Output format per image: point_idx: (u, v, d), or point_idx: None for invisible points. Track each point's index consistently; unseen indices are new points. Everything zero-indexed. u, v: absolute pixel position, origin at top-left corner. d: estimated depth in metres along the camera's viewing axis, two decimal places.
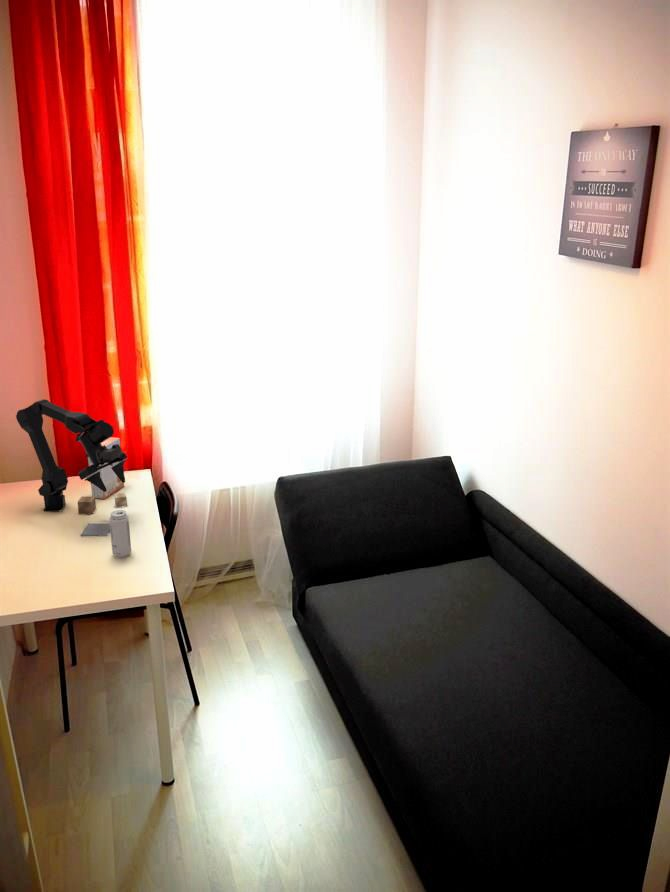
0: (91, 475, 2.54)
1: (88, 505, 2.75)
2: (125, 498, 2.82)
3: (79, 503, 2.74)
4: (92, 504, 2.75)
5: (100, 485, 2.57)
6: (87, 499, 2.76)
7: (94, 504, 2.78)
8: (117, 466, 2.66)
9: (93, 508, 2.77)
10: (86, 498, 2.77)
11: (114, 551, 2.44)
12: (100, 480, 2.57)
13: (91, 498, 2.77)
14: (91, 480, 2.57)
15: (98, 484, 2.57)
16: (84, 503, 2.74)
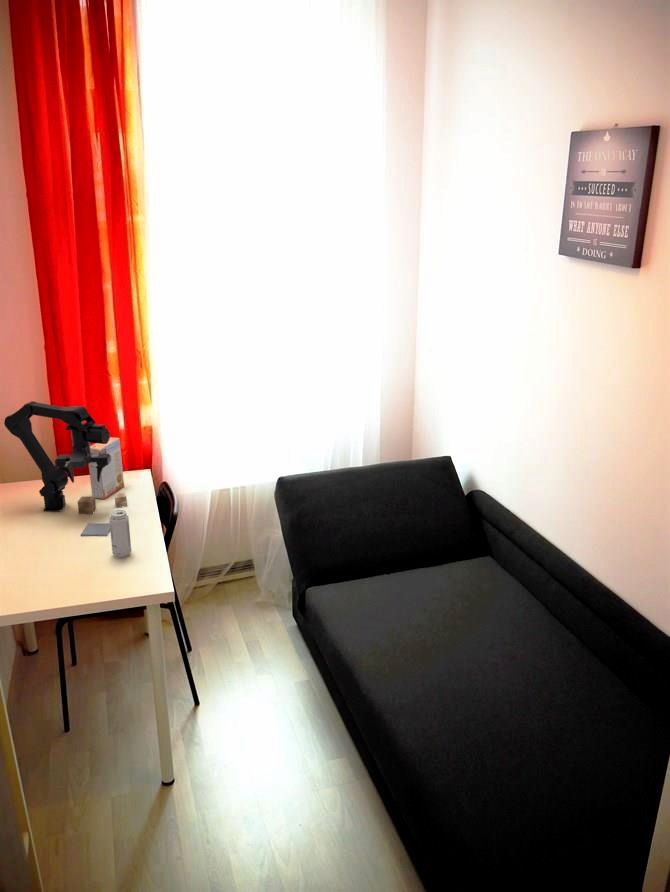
0: None
1: (88, 505, 2.75)
2: (125, 498, 2.82)
3: (79, 503, 2.74)
4: (92, 504, 2.75)
5: None
6: (87, 499, 2.76)
7: (94, 504, 2.78)
8: None
9: (93, 508, 2.77)
10: (86, 498, 2.77)
11: (114, 551, 2.44)
12: (68, 472, 2.71)
13: (91, 498, 2.77)
14: None
15: None
16: (84, 503, 2.74)
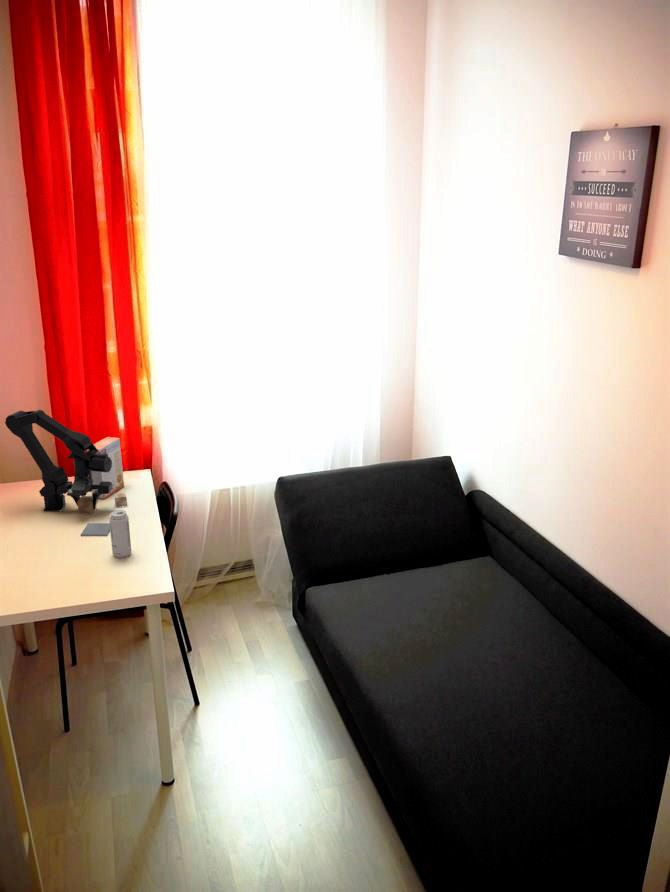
0: None
1: (88, 505, 2.75)
2: (125, 498, 2.82)
3: (79, 503, 2.74)
4: (92, 504, 2.75)
5: None
6: (87, 499, 2.76)
7: None
8: None
9: (93, 508, 2.77)
10: (86, 498, 2.77)
11: (114, 551, 2.44)
12: (75, 499, 2.75)
13: (91, 498, 2.77)
14: None
15: None
16: (84, 503, 2.74)
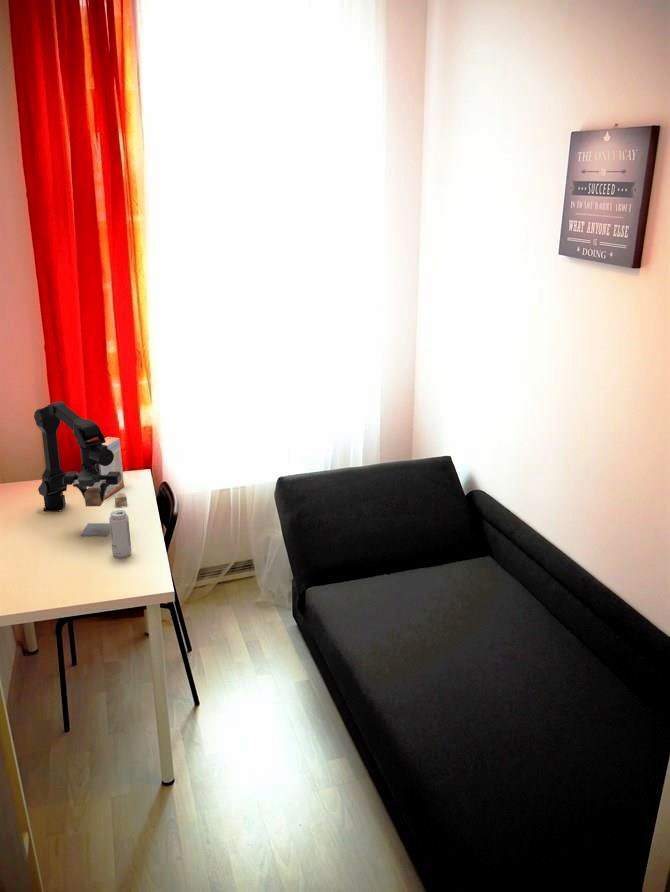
0: None
1: (96, 496, 2.57)
2: (125, 498, 2.82)
3: (86, 494, 2.56)
4: (99, 495, 2.57)
5: None
6: (94, 490, 2.58)
7: None
8: None
9: None
10: (93, 489, 2.59)
11: (114, 551, 2.44)
12: (82, 490, 2.57)
13: (98, 489, 2.59)
14: None
15: None
16: (91, 494, 2.56)
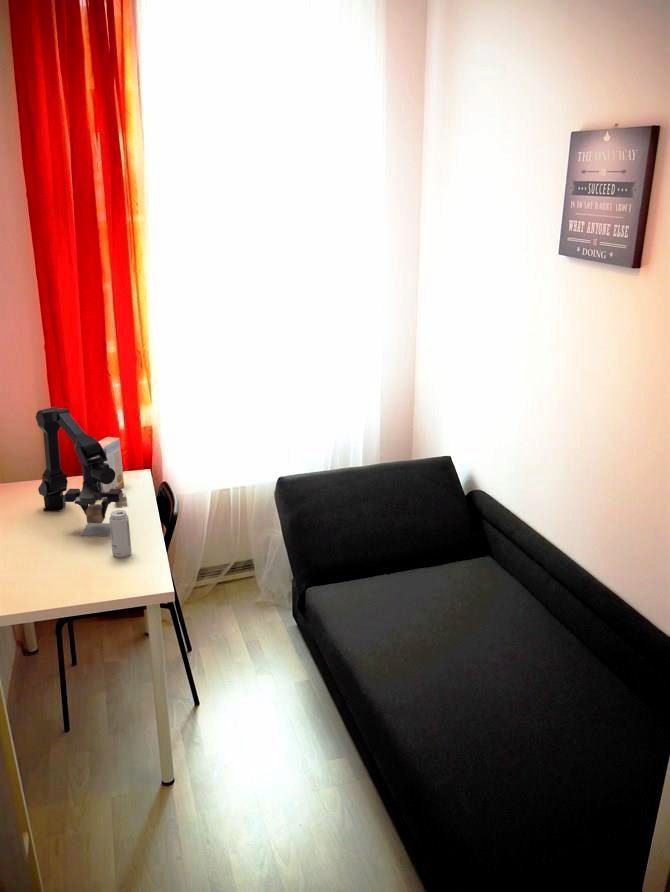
0: (75, 501, 2.58)
1: (97, 513, 2.59)
2: (125, 498, 2.82)
3: (87, 511, 2.58)
4: (101, 513, 2.59)
5: None
6: (96, 507, 2.60)
7: None
8: None
9: (102, 516, 2.61)
10: (95, 506, 2.61)
11: (114, 551, 2.44)
12: (83, 507, 2.59)
13: (100, 506, 2.61)
14: None
15: None
16: (92, 511, 2.58)
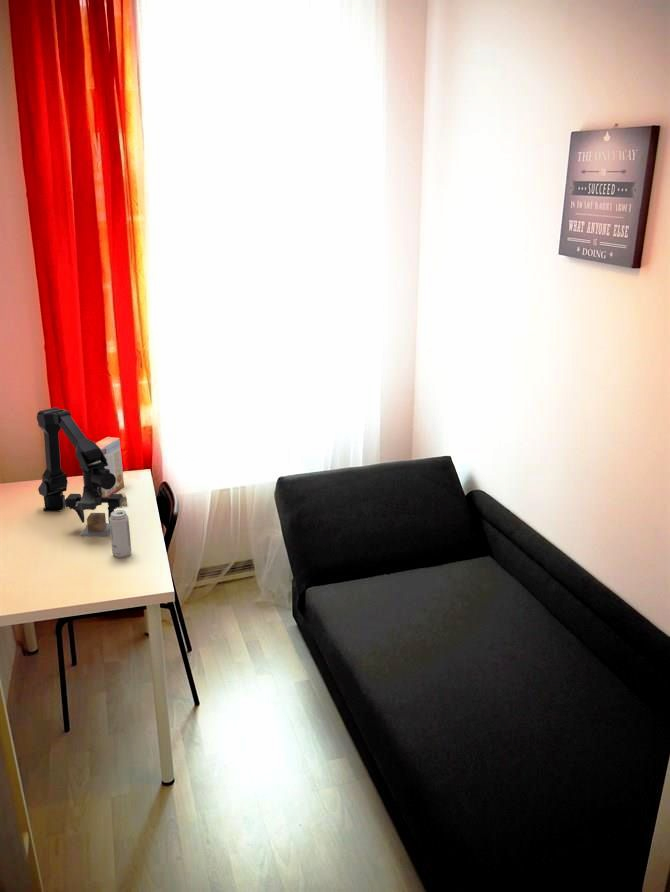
0: None
1: (98, 522, 2.60)
2: (125, 498, 2.82)
3: (88, 520, 2.59)
4: (102, 521, 2.60)
5: None
6: (96, 516, 2.61)
7: (104, 521, 2.63)
8: None
9: (103, 525, 2.62)
10: (96, 514, 2.62)
11: (114, 551, 2.44)
12: (79, 512, 2.60)
13: (101, 515, 2.62)
14: None
15: None
16: (93, 520, 2.59)
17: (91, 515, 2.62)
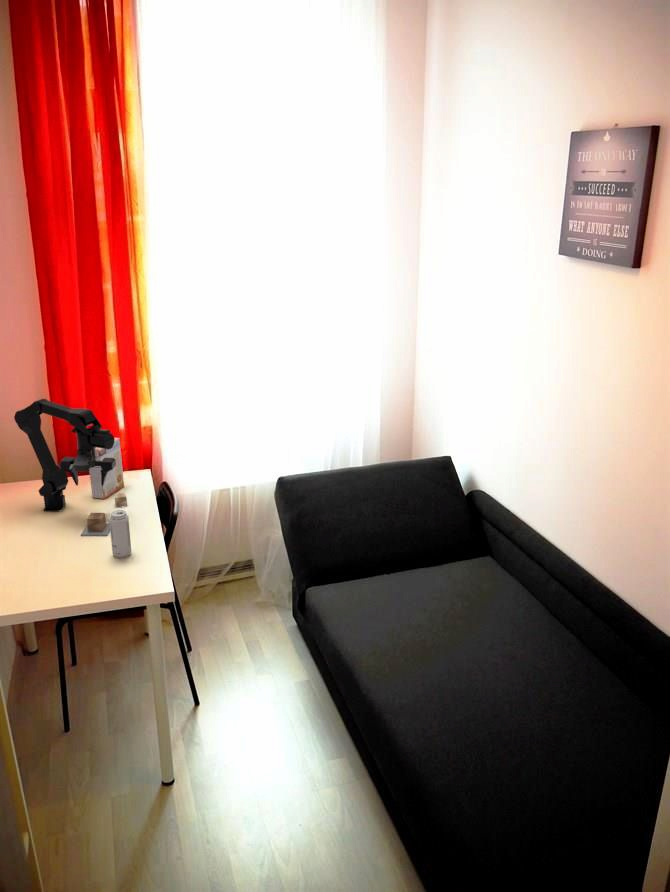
0: None
1: (98, 522, 2.60)
2: (125, 498, 2.82)
3: (88, 520, 2.59)
4: (102, 521, 2.60)
5: None
6: (96, 516, 2.61)
7: (104, 521, 2.63)
8: None
9: (103, 525, 2.62)
10: (96, 514, 2.62)
11: (114, 551, 2.44)
12: (72, 475, 2.68)
13: (101, 515, 2.62)
14: None
15: None
16: (93, 520, 2.59)
17: (91, 515, 2.62)
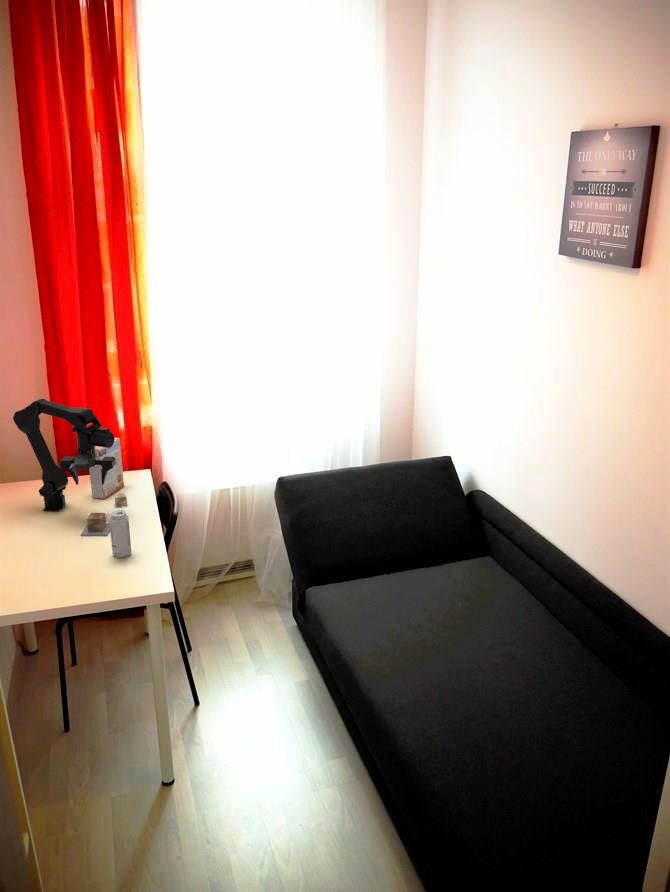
0: None
1: (98, 522, 2.60)
2: (125, 498, 2.82)
3: (88, 520, 2.59)
4: (102, 521, 2.60)
5: None
6: (96, 516, 2.61)
7: (104, 521, 2.63)
8: None
9: (103, 525, 2.62)
10: (96, 514, 2.62)
11: (114, 551, 2.44)
12: (73, 474, 2.69)
13: (101, 515, 2.62)
14: None
15: None
16: (93, 520, 2.59)
17: (91, 515, 2.62)
